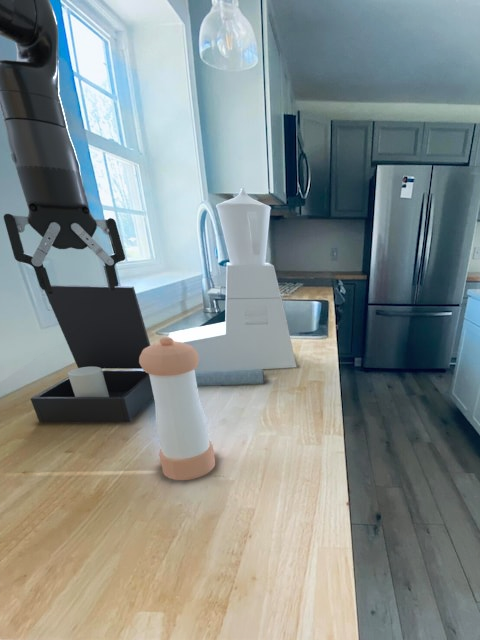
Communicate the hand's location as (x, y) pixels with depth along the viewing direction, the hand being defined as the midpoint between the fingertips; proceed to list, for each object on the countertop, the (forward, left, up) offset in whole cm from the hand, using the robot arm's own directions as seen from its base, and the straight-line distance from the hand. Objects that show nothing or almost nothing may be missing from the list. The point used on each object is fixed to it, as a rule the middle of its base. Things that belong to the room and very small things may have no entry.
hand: (82, 291), depth 58 cm
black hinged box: (-3, +4, -22) cm, 23 cm away
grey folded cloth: (+15, +18, -22) cm, 32 cm away
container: (-3, 0, -21) cm, 22 cm away
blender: (+16, +34, -22) cm, 43 cm away
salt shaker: (+19, -18, -22) cm, 34 cm away
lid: (-3, +10, -8) cm, 13 cm away
